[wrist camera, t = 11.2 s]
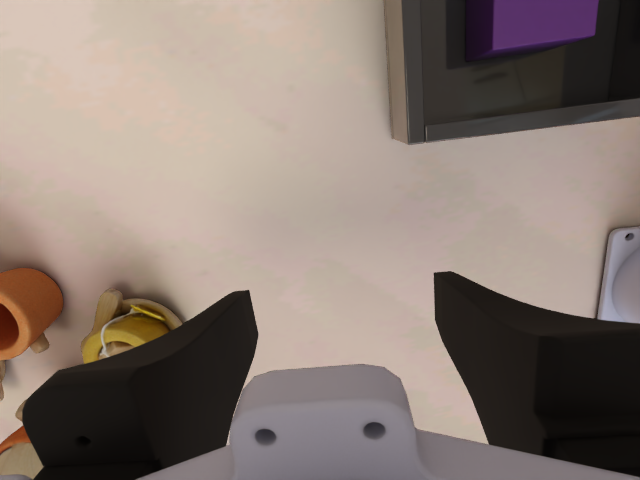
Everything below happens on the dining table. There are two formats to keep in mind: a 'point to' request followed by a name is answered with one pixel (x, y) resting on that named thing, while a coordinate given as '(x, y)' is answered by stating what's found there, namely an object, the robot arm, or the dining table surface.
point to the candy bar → (525, 26)
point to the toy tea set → (27, 330)
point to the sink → (504, 75)
